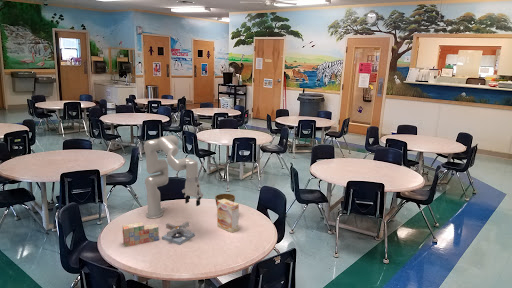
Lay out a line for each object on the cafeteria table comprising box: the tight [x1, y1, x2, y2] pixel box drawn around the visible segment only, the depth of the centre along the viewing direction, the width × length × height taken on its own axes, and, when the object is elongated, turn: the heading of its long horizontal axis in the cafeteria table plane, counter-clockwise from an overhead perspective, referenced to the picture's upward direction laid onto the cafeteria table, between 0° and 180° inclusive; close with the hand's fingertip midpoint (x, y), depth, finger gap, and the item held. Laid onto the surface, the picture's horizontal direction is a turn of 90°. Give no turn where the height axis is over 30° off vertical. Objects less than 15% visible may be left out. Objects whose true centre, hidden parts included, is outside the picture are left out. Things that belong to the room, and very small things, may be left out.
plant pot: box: [214, 193, 236, 206], centre depth 278 cm, size 15×15×16 cm
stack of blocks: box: [122, 221, 160, 248], centre depth 237 cm, size 21×6×12 cm, turn 118°
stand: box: [161, 231, 196, 246], centre depth 244 cm, size 15×15×2 cm
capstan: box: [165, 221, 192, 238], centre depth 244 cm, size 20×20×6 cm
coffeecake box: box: [216, 199, 240, 234], centre depth 258 cm, size 15×7×20 cm, turn 47°
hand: (192, 204), depth 244 cm, fingers open, 8 cm apart
